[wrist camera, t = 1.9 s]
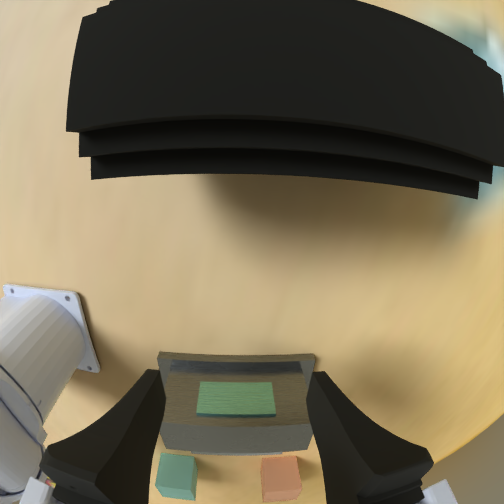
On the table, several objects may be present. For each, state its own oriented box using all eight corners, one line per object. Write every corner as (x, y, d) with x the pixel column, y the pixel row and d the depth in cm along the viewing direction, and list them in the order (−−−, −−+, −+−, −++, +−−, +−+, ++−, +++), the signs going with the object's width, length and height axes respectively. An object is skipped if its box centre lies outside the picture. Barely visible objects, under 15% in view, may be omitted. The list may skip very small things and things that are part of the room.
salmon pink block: (260, 470, 27) (263, 502, 22) (262, 457, 26) (265, 492, 21) (291, 468, 27) (296, 499, 23) (296, 455, 26) (302, 488, 21)
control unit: (168, 393, 22) (154, 451, 16) (159, 351, 20) (138, 412, 14) (304, 395, 22) (318, 452, 16) (313, 353, 21) (334, 414, 15)
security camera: (422, 183, 17) (532, 214, 7) (147, 169, 16) (47, 187, 6) (423, 92, 14) (529, 72, 5) (152, 64, 14) (73, -10, 4)
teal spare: (167, 466, 27) (162, 496, 22) (161, 452, 25) (154, 485, 21) (197, 469, 27) (195, 500, 22) (194, 456, 26) (190, 490, 21)
